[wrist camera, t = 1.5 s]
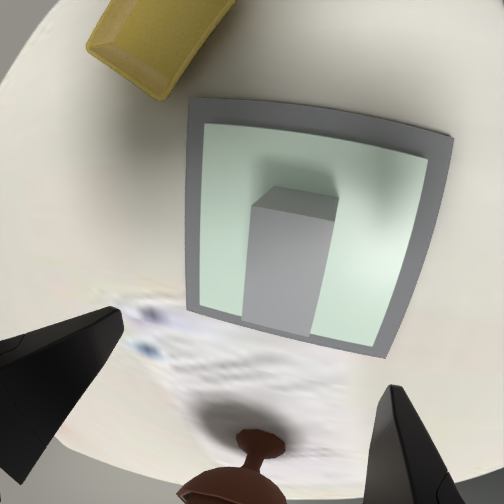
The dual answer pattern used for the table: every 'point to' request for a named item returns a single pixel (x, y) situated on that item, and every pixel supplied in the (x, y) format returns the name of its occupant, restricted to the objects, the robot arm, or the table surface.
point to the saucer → (154, 39)
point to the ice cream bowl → (239, 476)
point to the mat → (328, 125)
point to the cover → (304, 229)
